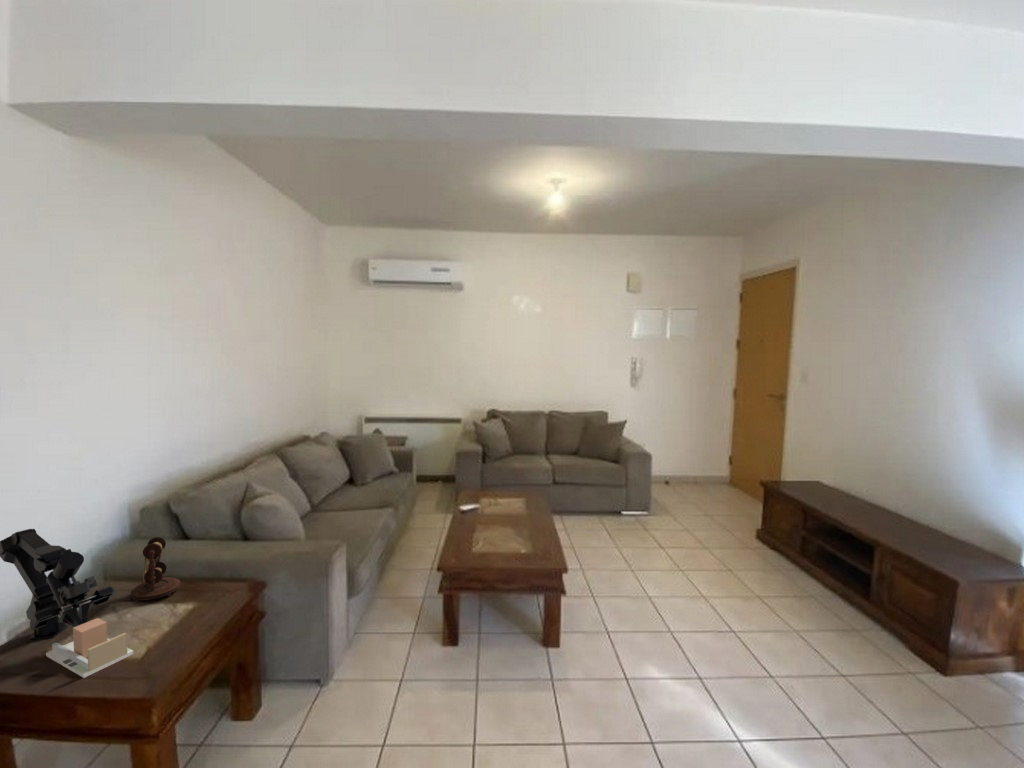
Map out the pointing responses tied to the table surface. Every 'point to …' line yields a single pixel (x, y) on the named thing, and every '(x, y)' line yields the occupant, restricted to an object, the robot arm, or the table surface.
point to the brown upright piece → (154, 574)
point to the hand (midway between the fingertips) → (85, 631)
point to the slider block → (89, 636)
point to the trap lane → (91, 655)
